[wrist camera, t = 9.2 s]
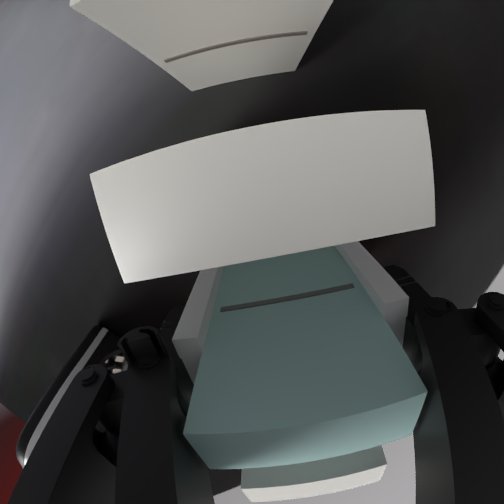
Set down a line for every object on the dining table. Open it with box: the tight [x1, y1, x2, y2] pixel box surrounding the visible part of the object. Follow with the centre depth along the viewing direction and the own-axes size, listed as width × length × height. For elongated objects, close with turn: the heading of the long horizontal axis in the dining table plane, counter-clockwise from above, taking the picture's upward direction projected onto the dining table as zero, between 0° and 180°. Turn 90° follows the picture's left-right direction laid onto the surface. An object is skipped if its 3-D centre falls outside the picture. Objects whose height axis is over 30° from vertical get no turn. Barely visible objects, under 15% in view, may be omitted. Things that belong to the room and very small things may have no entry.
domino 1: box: [70, 0, 333, 91], centre depth 7 cm, size 2×5×10 cm, turn 102°
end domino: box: [241, 445, 387, 502], centre depth 12 cm, size 2×5×10 cm, turn 101°
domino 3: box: [183, 246, 428, 469], centre depth 10 cm, size 2×5×10 cm, turn 102°
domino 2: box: [90, 110, 435, 284], centre depth 8 cm, size 2×5×10 cm, turn 102°
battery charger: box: [16, 325, 129, 468], centre depth 13 cm, size 7×4×11 cm, turn 154°
